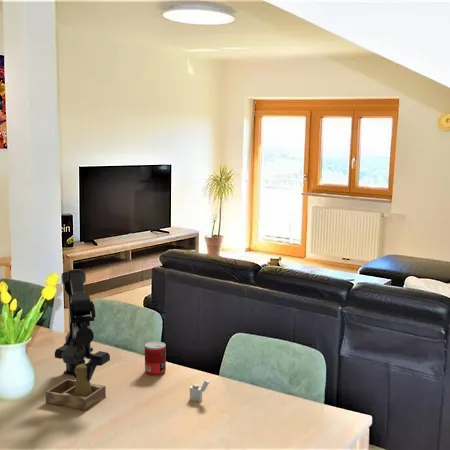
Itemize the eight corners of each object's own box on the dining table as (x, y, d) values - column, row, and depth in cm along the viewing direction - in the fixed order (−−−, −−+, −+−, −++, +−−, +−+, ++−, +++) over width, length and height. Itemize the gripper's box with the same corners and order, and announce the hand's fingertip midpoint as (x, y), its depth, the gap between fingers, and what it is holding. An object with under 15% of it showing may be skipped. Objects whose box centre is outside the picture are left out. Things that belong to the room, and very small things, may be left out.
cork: (87, 400, 205) (86, 369, 204) (70, 399, 207) (69, 368, 205) (95, 393, 211) (94, 362, 209) (78, 391, 212) (77, 361, 211)
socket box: (45, 402, 208) (45, 391, 207) (67, 389, 219) (67, 378, 218) (85, 411, 202) (85, 399, 201) (105, 397, 213) (105, 386, 212)
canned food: (164, 376, 231) (164, 348, 230) (143, 375, 231) (143, 347, 230) (166, 368, 239) (166, 341, 237) (146, 368, 239) (146, 340, 237)
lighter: (189, 399, 211) (189, 377, 210) (191, 397, 213) (191, 375, 212) (207, 403, 208) (208, 381, 207) (210, 401, 210) (210, 379, 209)
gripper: (43, 338, 202) (44, 383, 204) (91, 346, 195) (92, 393, 197) (64, 328, 212) (65, 371, 214) (110, 336, 205) (111, 380, 207)
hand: (82, 379), depth 208 cm, fingers closed on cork, 5 cm apart
